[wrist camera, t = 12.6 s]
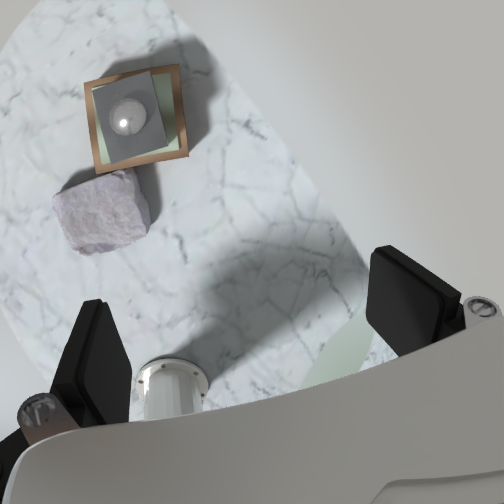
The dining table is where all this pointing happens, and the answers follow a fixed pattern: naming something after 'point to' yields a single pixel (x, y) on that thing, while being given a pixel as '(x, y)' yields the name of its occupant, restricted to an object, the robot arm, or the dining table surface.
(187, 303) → the dining table surface
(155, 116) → the housing
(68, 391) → the robot arm
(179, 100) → the stand
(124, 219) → the stone block
